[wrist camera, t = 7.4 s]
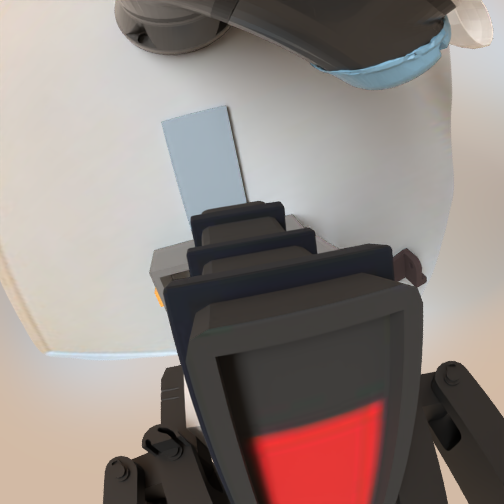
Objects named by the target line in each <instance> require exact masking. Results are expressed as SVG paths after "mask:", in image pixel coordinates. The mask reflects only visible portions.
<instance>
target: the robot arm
mask: <svg viewBox="0 0 504 504" xmlns="http://www.w3.org/2000/svg"><path fill="white" fill-rule="evenodd" d="M459 5H460V0H116V2H115V17H116V21H117V24H118V26H119V28H120V30H121V31H122V33H123V34H124V35H125V36H126V37H127V38H128V39H129V40H130V41H131V42H132V43H133V44H135V45H136V46H138V47H139V48H141V49H143V50H146V51H149V52H152V53H157V54H166V55H174V54H183V53H188V52H192V51H195V50H198V49H201V48H203V47H205V46H207V45H209V44H211V43H213V42H214V41H216V40H217V39H218V38H220V37H221V36H222V35H223V34H224V33H225V32H226V31H227V30H228V29H229V28H230V26H234V27H236V28H239V29H241V30H244V31H246V32H249V33H251V34H253V35H256V36H258V37H260V38H263V39H265V40H267V41H269V42H271V43H273V44H276V45H278V46H280V47H282V48H284V49H286V50H288V51H290V52H292V53H294V54H296V55H297V56H299V57H301V58H303V59H305V60H307V61H309V62H310V64H311V65H312V66H313V67H315V68H316V69H318V70H320V71H322V72H325V73H329V74H332V75H334V76H335V77H337V78H339V79H341V80H342V81H344V82H346V83H348V84H350V85H352V86H354V87H358V88H363V89H366V90H382V89H388V88H392V87H396V86H399V85H402V84H404V83H406V82H409V81H411V80H413V79H415V78H417V77H418V76H420V75H421V74H423V73H424V72H426V71H427V70H429V69H430V68H431V67H432V66H433V65H434V64H435V63H436V62H437V61H438V60H439V59H440V58H441V52H440V50H442V49H445V48H447V47H448V45H449V42H450V40H451V25H450V23H449V20H448V17H447V15H446V14H448V13H449V12H451V11H452V10H453V9H455V8H456V7H458V6H459ZM161 391H162V393H161V401H162V402H161V424H159V425H155V426H153V427H151V428H150V429H149V430H148V431H147V432H146V433H145V435H144V437H143V439H142V448H144V449H145V450H147V451H148V453H146V454H144V455H142V456H139V457H137V458H134V459H132V460H131V459H129V458H128V457H124V456H119V457H115V458H113V459H112V460H110V461H109V463H108V464H107V466H106V470H105V479H104V497H103V504H231V503H230V501H229V498H228V496H227V494H226V491H225V489H224V487H223V484H222V482H221V480H220V477H219V475H218V472H217V470H216V467H215V465H214V463H213V462H212V459H211V455H210V452H209V449H208V447H207V444H206V441H205V438H204V436H203V433H202V430H201V427H200V424H199V421H198V418H197V415H196V412H195V409H194V406H193V403H192V400H191V397H190V394H189V391H188V387H187V384H186V381H185V377H184V374H183V371H182V367H181V365H179V366H174V367H170V368H166V370H165V372H164V375H163V377H162V379H161ZM433 442H434V443H433ZM434 444H435V445H436V447H437V449H438V450H439V452H440V454H441V455H442V457H443V459H444V460H445V462H446V464H447V466H448V467H449V469H450V471H451V473H452V474H453V476H454V478H455V480H456V481H457V483H458V485H459V486H460V489H461V490H462V492H463V494H464V496H465V498H466V499H467V501H468V503H469V504H504V418H503V416H502V415H501V413H500V412H499V411H498V409H497V408H496V406H495V405H494V404H493V402H492V401H491V400H490V398H489V397H488V396H487V394H486V393H485V392H484V390H483V389H482V388H481V387H480V385H479V384H478V383H477V381H476V380H475V379H474V378H473V376H472V375H471V374H470V373H469V371H468V370H467V369H466V368H465V367H464V366H463V365H462V364H461V363H458V362H455V361H448V362H445V363H442V364H441V365H440V366H439V367H438V368H437V371H436V372H432V373H427V374H421V375H420V386H419V395H418V403H417V410H416V417H415V423H414V429H413V435H412V440H411V445H410V450H409V455H408V459H407V464H406V468H405V472H404V476H403V480H402V483H401V487H400V490H399V494H398V497H397V500H396V504H448V501H447V496H446V491H445V487H444V482H443V478H442V474H441V470H440V466H439V462H438V458H437V454H436V451H435V447H434Z"/></svg>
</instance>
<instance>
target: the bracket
mask: <svg viewBox="0 0 504 504" xmlns="http://www.w3.org/2000/svg"><path fill="white" fill-rule="evenodd" d="M393 266H394V278H395V281H396V282H398V281H400V280H401V279H403V278H405V277H406V278H407V279H408V280H409V281H410V282H411V283H412V284H413V285H414V286H415V287H419V286H421V285H422V284H424V283H426V282H427V277H426V276H425V275H424V274H423V273H422V267H421V263H420V261H419V259H418V258H417V256H415V255H414V254H413V253H412V252H411V251H409V250H408V249H407V248H406V249H404V250H402V251H401V252H399V253H398V254H397V255H396V256H394V257H393Z"/></svg>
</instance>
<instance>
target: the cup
mask: <svg viewBox="0 0 504 504" xmlns="http://www.w3.org/2000/svg"><path fill="white" fill-rule="evenodd" d="M446 15H447V17H448V20H449V23H450V25H451V40H450V42H449V44H451V45H455V46H458V47H462V48H470V49H476V48H481V47H485V46H489V45H490V43H491V41H492V39H493V27H492V22H491V18H490V16H489V13H488V11H487V9H486V7H485V5H484V4H483V2H482V0H460V5H459V6H458V7H456V8H455V9H453V10H452V11H451V12H449V13H448V14H446Z"/></svg>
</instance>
